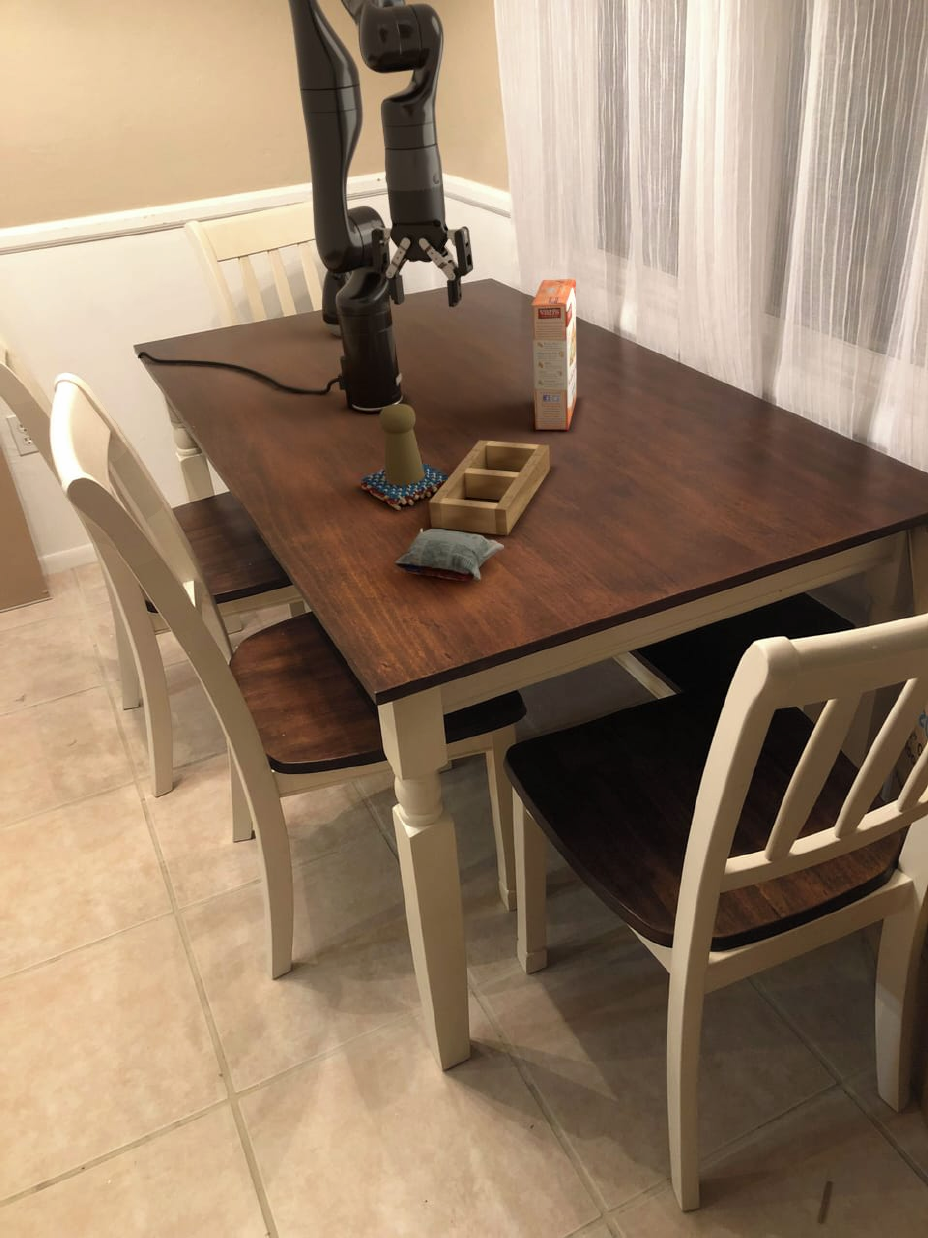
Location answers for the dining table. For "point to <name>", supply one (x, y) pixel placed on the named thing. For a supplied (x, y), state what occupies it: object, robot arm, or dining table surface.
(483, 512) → the spice rack
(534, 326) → the cracker box
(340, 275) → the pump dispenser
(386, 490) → the woven mat
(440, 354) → the dining table surface
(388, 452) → the olive peg doll
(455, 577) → the packaged food
